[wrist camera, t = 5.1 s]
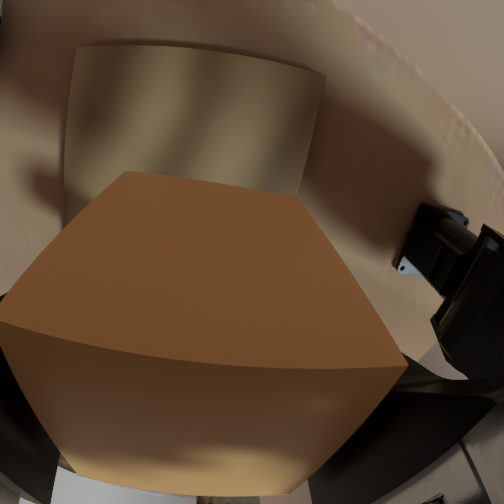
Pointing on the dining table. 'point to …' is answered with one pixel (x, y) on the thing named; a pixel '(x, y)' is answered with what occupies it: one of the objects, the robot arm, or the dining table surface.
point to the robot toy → (0, 10)
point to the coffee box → (228, 500)
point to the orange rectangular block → (196, 340)
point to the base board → (186, 119)
